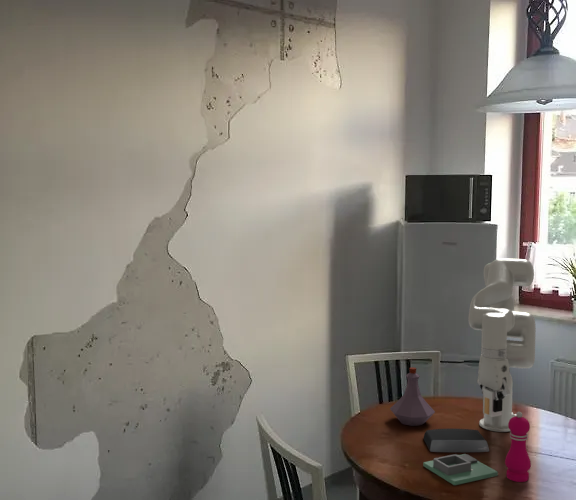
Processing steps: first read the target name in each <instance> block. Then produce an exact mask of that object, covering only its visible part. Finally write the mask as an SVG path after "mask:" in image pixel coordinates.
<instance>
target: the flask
mask: <svg viewBox="0 0 576 500" xmlns="http://www.w3.org/2000/svg"><path fill="white" fill-rule="evenodd" d="M408 368H409V370H408V371H409V373H407V374H405V378H406V379H407V382H406V388H405V390H404V393H403V395H401V397H400V398H399V399H398V400H397V401H396V402H395V403H394V404H393V405H392V406H391V407H389V409H390V411H391V412H392V413H393V414H394V416H395V417H396V418H397V420H398V421H399V422H400V423H401V424H402V425H407V426H411V427H415V426H422V425H423V424H426V423H427V421H428V420H429V419H431V418H432V416H433V415H434V414H436V411H435V410H434V409H433V408H432V407H431V406H430V404H428V402H427V401H426V400H425V398H424V397H423V396H422V394H421V390H420V387H419V379H420V375H419V374H418V373H417V368H416V367H413V366H412V367H408Z"/></svg>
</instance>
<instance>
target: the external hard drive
mask: <svg viewBox="0 0 576 500" xmlns="http://www.w3.org/2000/svg"><path fill="white" fill-rule="evenodd" d="M423 440H424V442H425V444H426V446H427V449H428V450H429V451H430V452H434V453H484V452H490V449H489V444H488V441H487V440H486V439H485V437H484V436H483V435H482V434H481V433H480V431H479V430H478V429H471V428H470V429H469V428H437V429H435V428H434V429H427V430H426V431H424V434H423Z"/></svg>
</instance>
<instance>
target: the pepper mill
mask: <svg viewBox="0 0 576 500" xmlns="http://www.w3.org/2000/svg"><path fill="white" fill-rule="evenodd" d="M515 414H516V416H515V417H512V418H511V419H510V420H509V423H508V427H509V429H510V431H509V438H510V439H511V440H510V442H511V443H510V446H509V450H508V452H507V453H506V456H505V458H504V459H505V460H504V465H505V467H506V468H507V469H506V478H507V479H508V480H510V481H512V482H517V483H523V482H524V483H525V482H527V481H529V479H530V477H529V476H530V473H529V470H530V469H531V468H532V467H531V466H532V464H531V463H532V461H531V458H530V456H529V453H528V451H527V440H528V438H529V437H528V435H529V434H528V432H529V431H530V428H531V427H530V425H531V424H530V422H529V420H528V419H527V418H526V417H523V413H522V412H521V411H517V412H516V413H515Z"/></svg>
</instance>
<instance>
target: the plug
mask: <svg viewBox="0 0 576 500" xmlns="http://www.w3.org/2000/svg"><path fill="white" fill-rule="evenodd" d="M499 394H500V392H498V395H499ZM494 399H495V396H494V390H493V389H490V388H484V389H483V394H482V414H483V415H484V414H486V415H488V416H490V417H494V416H499V415H502V411H499V412H493V400H494Z"/></svg>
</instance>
